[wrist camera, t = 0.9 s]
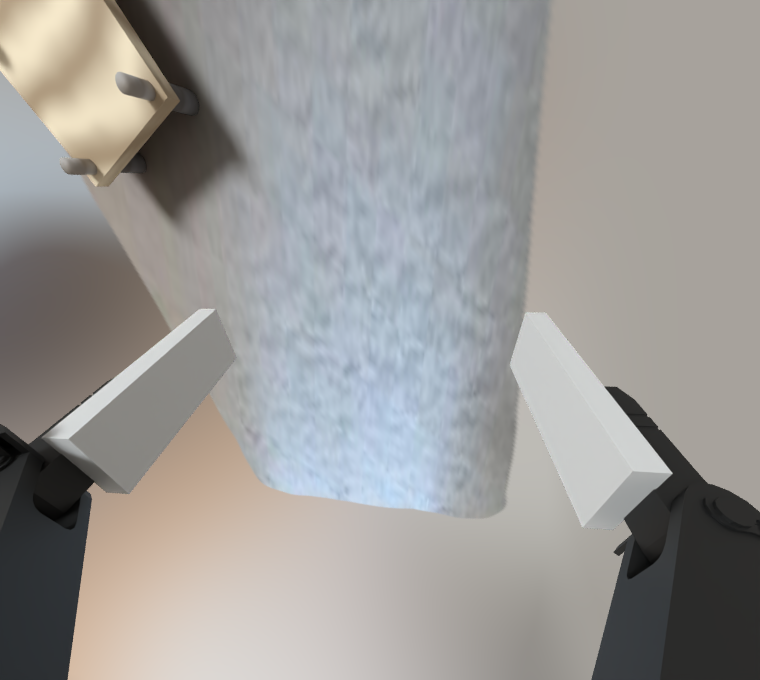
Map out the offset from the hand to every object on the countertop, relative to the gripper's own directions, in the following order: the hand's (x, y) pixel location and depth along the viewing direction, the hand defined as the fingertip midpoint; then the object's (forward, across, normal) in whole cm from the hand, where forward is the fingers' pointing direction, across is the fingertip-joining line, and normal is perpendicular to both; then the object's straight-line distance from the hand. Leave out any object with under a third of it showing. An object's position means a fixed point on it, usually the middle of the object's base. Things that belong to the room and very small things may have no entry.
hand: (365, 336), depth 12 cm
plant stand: (+32, -32, +14) cm, 47 cm away
